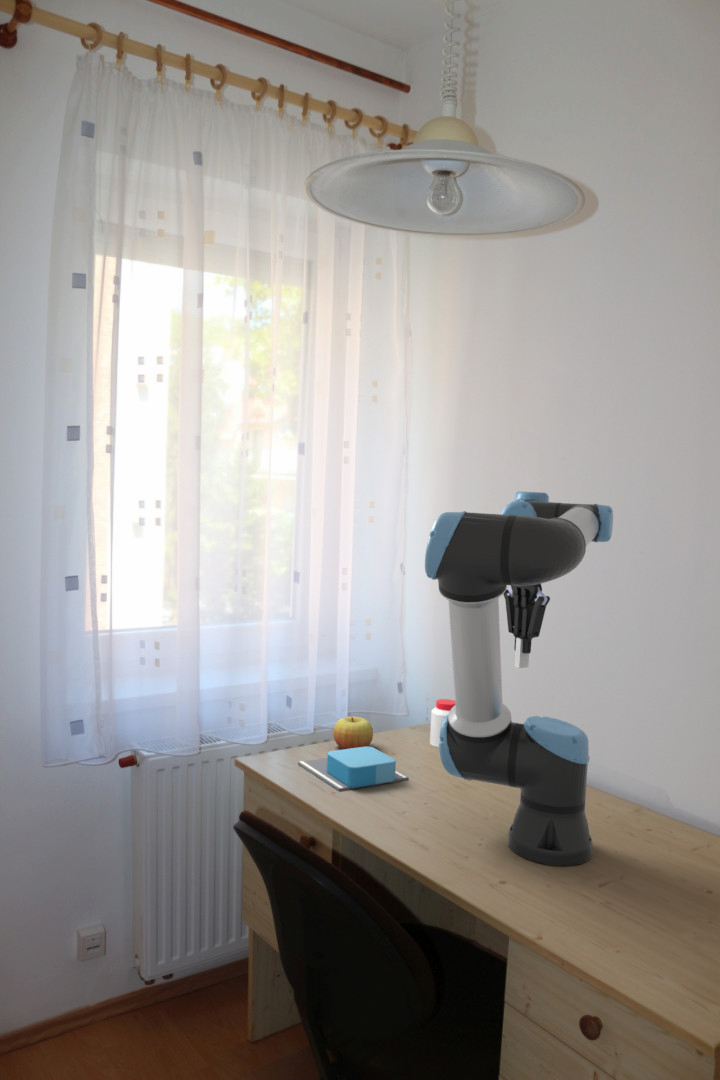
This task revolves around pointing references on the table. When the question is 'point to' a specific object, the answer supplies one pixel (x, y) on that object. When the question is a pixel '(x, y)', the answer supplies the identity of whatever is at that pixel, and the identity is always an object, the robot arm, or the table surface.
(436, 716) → the pill bottle
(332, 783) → the mat
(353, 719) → the apple
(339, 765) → the light blue flat block
